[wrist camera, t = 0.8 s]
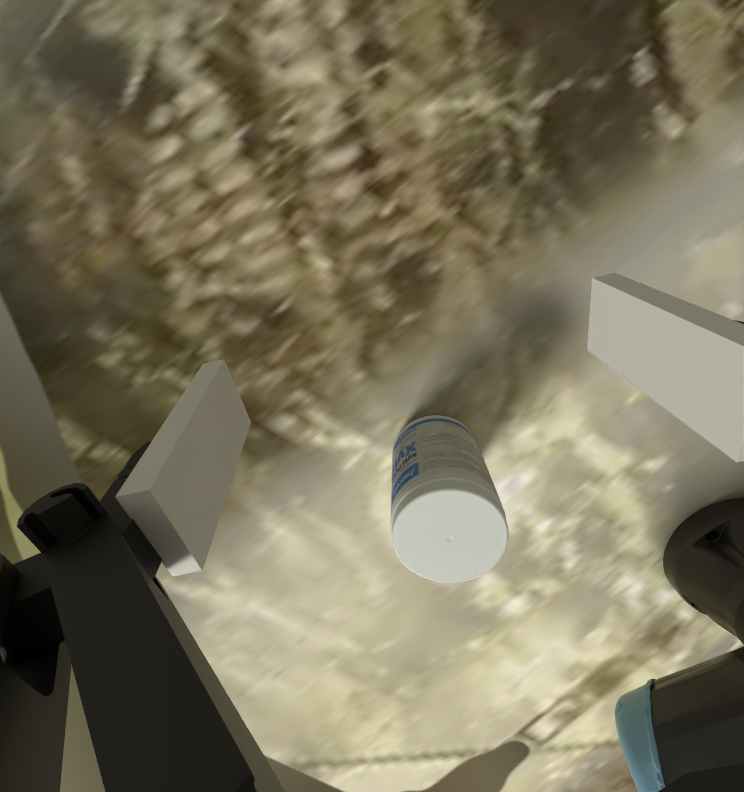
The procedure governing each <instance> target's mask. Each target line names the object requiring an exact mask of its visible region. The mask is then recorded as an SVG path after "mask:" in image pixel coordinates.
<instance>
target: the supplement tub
mask: <svg viewBox="0 0 744 792" xmlns="http://www.w3.org/2000/svg"><path fill="white" fill-rule="evenodd" d="M391 533H392V540H393V545H394V549H395V551H396V553H397V555H398V557H399V559H400V560H401V561H402V563H403V564H404V565H405V566H406V567H407V568H409V569H410V570H411V571H412V572H414V573H416V574H417V575H419V576H421V577H423V578H426V579H429V580H433V581H437V582H445V583H455V582H462V581H467V580H470V579H473V578H476V577H478V576H480V575H482V574H484V573H486V572H487V571H489V570H490V569H491V568H493V567H494V566H495V565H496V564H497V562H498V561H499V560H500V559H501V557H502V556H503V554H504V552H505V550H506V547H507V543H508V536H509V532H508V526H507V522H506V516H505V512H504V509H503V507H502V504H501V502H500V499H499V496H498V494H497V491H496V489H495V486H494V484H493V481H492V479H491V476H490V474H489V471H488V469H487V466H486V464H485V461H484V459H483V456H482V454H481V451H480V449H479V446H478V444H477V442H476V439H475V437H474V435H473V434H472V432H471V431H470V430H469V429H468V428H467V427H466V426H465V425H464V424H462V423H461V422H459V421H458V420H456V419H453V418H451V417H447V416H441V415H431V416H425V417H422V418H419V419H417V420H414V421H413V422H411V423H410V424H408V425H407V426H406V427H405V428H404V429H403V430H402V431H401V432H400V433H399V435H398V437H397V438H396V441H395V443H394V447H393V457H392V493H391Z"/></svg>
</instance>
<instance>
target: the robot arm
mask: <svg viewBox="0 0 744 792" xmlns="http://www.w3.org/2000/svg"><path fill="white" fill-rule="evenodd" d="M587 350H588V351H589V352H590V353H592V354H593V355H594V356H596V357H597V358H598V359H600V360H601V361H602V362H604V363H605V364H606V365H608V366H609V367H610V368H612V369H613V370H614V371H616V372H617V373H618V374H620V375H621V376H622V377H624V378H625V379H626V380H628V381H629V382H630V383H632V384H633V385H634V386H636V387H637V388H638V389H640V390H641V391H642V392H644V393H645V394H646V395H648V396H649V397H650V398H652V399H653V400H654V401H656V402H657V403H658V404H660V405H661V406H662V407H664V408H665V409H666V410H668V411H669V412H670V413H672V414H673V415H674V416H676V417H677V418H678V419H680V420H681V421H682V422H684V423H685V424H686V425H688V426H689V427H690V428H692V429H693V430H694V431H696V432H697V433H698V434H700V435H701V436H702V437H704V438H705V439H706V440H708V441H709V442H710V443H712V444H713V445H714V446H716V447H717V448H718V449H720V450H721V451H722V452H724V453H725V454H726V455H728V456H729V457H730V458H732V459H733V460H734V461H736V462H741V461H744V322H740V321H735V320H731V319H729V318H726V317H724V316H721V315H719V314H716V313H714V312H711V311H709V310H706V309H704V308H701V307H699V306H696V305H694V304H691V303H689V302H686V301H684V300H681V299H679V298H676V297H674V296H671V295H669V294H666V293H664V292H661V291H659V290H656V289H654V288H651V287H649V286H646V285H644V284H641V283H639V282H636V281H634V280H631V279H629V278H626V277H624V276H621V275H619V274H616V273H612V274H608V275H603V276H599V277H594V278H592V290H591V304H590V317H589V331H588V344H587ZM250 423H251V421H250V419H249V417H248V414H247V412H246V410H245V407H244V405H243V403H242V400H241V398H240V396H239V393H238V391H237V389H236V387H235V384H234V382H233V380H232V377H231V375H230V373H229V370H228V368H227V366H226V363H225V361H224V359H223V360H219V361H214V362H210V363H205V364H203V365H202V366H201V368H200V369H199V371H198V372H197V374H196V375H195V377H194V378H193V380H192V381H191V383H190V384H189V386H188V387H187V389H186V390H185V392H184V394H183V395H182V397H181V398H180V400H179V401H178V403H177V404H176V406H175V407H174V409H173V410H172V412H171V413H170V415H169V416H168V418H167V419H166V421H165V422H164V424H163V425H162V427H161V428H160V430H159V431H158V433H157V434H156V436H155V437H154V439H153V440H152V442H147V443H146V444H145V445H143V446H142V447H141V448H140V449H139V450H138V451H136V452H135V453H134V454H133V455H132V456H131V458H130V459H129V461H128V462H127V463H126V465H125V466H124V470H122V471H121V472H120V474H119V475H118V476H117V480H115V481H114V482H113V484H112V485H111V486H110V488H109V489H108V491H107V492H106V494H105V495H104V496H103V498H102V499H101V501H100V502H99V501H98V499H97V498H96V497H95V495H94V494H93V493H92V491H91V490H90V489H89V487H88V486H86V485H85V484H83V483H74V484H70V485H67V486H63V487H61V488H59V489H56V490H54V491H52V492H50V493H48V494H46V495H45V496H43V497H42V498H40V499H38V500H37V501H36V502H34V503H33V504H32V505H31V506H30V507H29V508H27V509H26V510H25V511H24V513H23V514H22V515H21V517H20V518H19V520H18V524H17V527H18V528H19V529H20V530H21V531H22V532H23V533H24V534H25V536H26V537H27V538H28V539H29V540H30V541H31V542H32V543H33V544H34V545H35V546H36V547H37V548H38V549H39V551H40V552H41V553H39V554H37V555H34V556H32V557H30V558H27V559H25V560H23V561H20V562H18V563H16V564H11V563H10V562H9V561H8V560H7V559H6V558H5V557H4V556H3V555H2V554H0V792H60V782H61V771H62V760H63V749H64V737H65V728H66V727H65V726H66V716H67V706H68V694H69V683H70V673H71V664H72V668H73V671H74V675H75V679H76V682H77V686H78V690H79V694H80V698H81V701H82V705H83V709H84V713H85V717H86V720H87V723H88V728H89V731H90V735H91V739H92V743H93V746H94V750H95V754H96V758H97V762H98V765H99V769H100V773H101V777H102V780H103V784H104V788H105V791H106V792H286V791H285V790H284V788H283V786H282V785H281V783H280V781H279V780H278V778H277V777H276V775H275V773H274V772H273V770H272V768H271V766H270V765H269V763H268V761H267V760H266V758H265V756H264V755H263V753H262V751H261V750H260V748H259V746H258V745H257V743H256V741H255V740H254V738H253V736H252V735H251V733H250V731H249V730H248V728H247V726H246V725H245V723H244V721H243V720H242V718H241V716H240V715H239V713H238V711H237V710H236V708H235V706H234V705H233V703H232V701H231V700H230V698H229V696H228V695H227V693H226V691H225V690H224V688H223V686H222V685H221V683H220V681H219V680H218V678H217V676H216V675H215V673H214V671H213V670H212V668H211V666H210V665H209V663H208V661H207V660H206V658H205V656H204V655H203V653H202V651H201V650H200V648H199V646H198V645H197V643H196V641H195V640H194V638H193V636H192V634H191V633H190V631H189V629H188V628H187V626H186V624H185V623H184V621H183V619H182V618H181V616H180V614H179V613H178V611H177V609H176V608H175V606H174V604H173V603H172V601H171V599H170V598H169V596H168V594H167V593H166V591H165V589H164V588H163V586H162V584H161V583H160V582H159V580H158V579H157V578H156V576H155V575H156V573H157V570H158V568H159V566H160V564H161V561H162V563H163V564H164V566H165V567H166V568H167V570H168V571H169V572H170V574H171V575H172V577H173V576H177V575H182V574H187V573H192V572H197V571H202V569H203V566H204V563H205V560H206V557H207V554H208V551H209V548H210V545H211V542H212V539H213V536H214V533H215V530H216V527H217V524H218V521H219V518H220V515H221V512H222V509H223V505H224V502H225V499H226V496H227V493H228V490H229V487H230V484H231V481H232V478H233V475H234V472H235V469H236V466H237V463H238V460H239V457H240V454H241V451H242V448H243V445H244V442H245V439H246V436H247V433H248V430H249V427H250ZM663 565H664V571H665V574H666V577H667V579H668V581H669V582H670V584H671V585H672V586H673V587H674V589H675V590H676V591H677V592H678V593H679V595H680V596H681V597H682V598H683V599H684V600H685V601H686V602H687V603H688V604H689V605H690V606H692V607H693V608H695V609H696V610H698V611H699V612H701V613H703V614H706V615H708V616H709V617H710V618H711V619H712V620H713V621H715V622H716V623H717V624H719V625H720V626H722V627H723V628H724V629H726V630H727V631H729V632H730V633H732V634H733V635H735V636H736V637H737V638H738V639H739V640H740V641H741V642H742V643H743V644H744V498H741V499H733V500H728V501H724V502H721V503H717V504H715V505H712V506H710V507H707V508H705V509H703V510H701V511H700V512H698V513H696V514H695V515H693V516H692V517H690V518H689V519H688V520H686V521H685V522H684V523H683V524H682V525H681V526H680V527H679V528H678V529H677V530H676V531H675V533H674V534H673V535H672V537H671V539H670V540H669V542H668V544H667V547H666V549H665V553H664V559H663ZM615 718H616V726H617V731H618V735H619V739H620V743H621V746H622V749H623V752H624V755H625V758H626V761H627V764H628V767H629V770H630V772H631V775H632V777H633V780H634V782H635V785H636V787H637V790H638V792H744V647H741V648H739V649H736V650H734V651H730V652H728V653H725V654H722V655H720V656H717V657H715V658H712V659H710V660H707V661H705V662H702V663H700V664H697V665H694V666H692V667H689V668H687V669H684V670H681V671H678V672H676V673H673V674H670V675H667V676H665V677H662V678H659V679H657V680H656V679H651V680H649V681H648V682H647V683H646V684H645V685H643V686H641V687H639V688H637V689H635V690H633V691H631V692H628V693H626V694H624V695H623V696H621V697H620V698H619V700H618V701H617V704H616V708H615Z"/></svg>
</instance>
